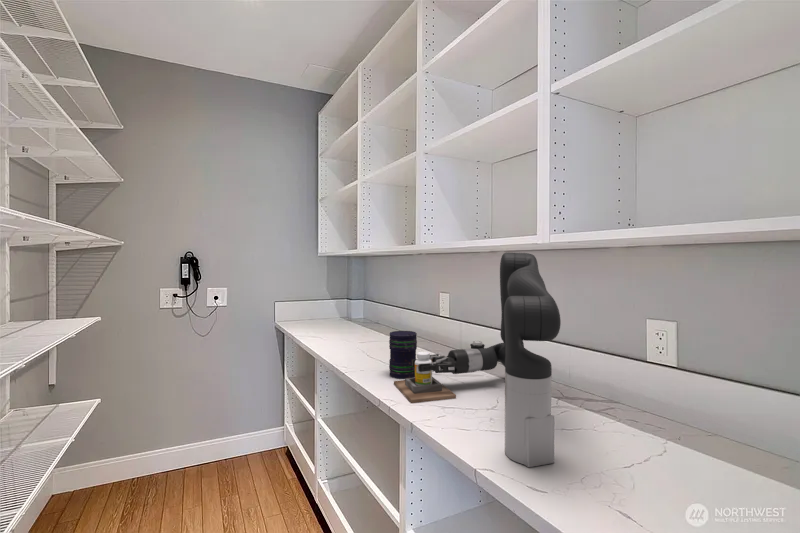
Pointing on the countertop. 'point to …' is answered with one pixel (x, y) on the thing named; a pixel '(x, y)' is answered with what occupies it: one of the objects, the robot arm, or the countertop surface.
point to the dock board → (423, 391)
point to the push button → (477, 345)
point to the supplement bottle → (425, 376)
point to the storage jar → (402, 354)
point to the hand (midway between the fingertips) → (415, 365)
